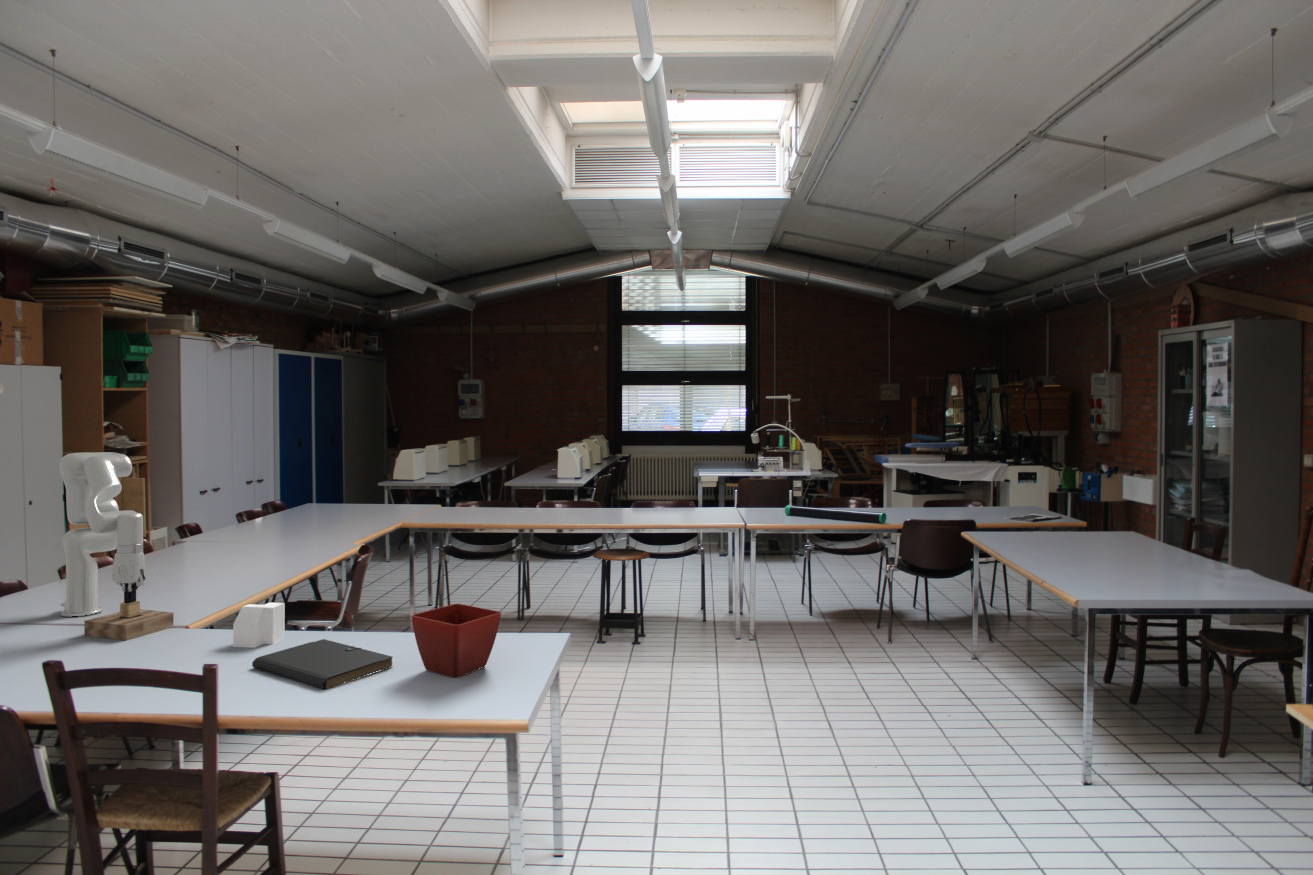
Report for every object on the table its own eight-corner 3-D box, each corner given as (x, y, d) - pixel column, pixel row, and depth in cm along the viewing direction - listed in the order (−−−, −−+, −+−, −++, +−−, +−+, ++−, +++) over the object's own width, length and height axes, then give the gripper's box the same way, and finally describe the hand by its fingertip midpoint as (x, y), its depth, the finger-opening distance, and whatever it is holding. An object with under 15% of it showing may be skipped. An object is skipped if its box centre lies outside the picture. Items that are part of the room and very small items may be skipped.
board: (84, 635, 262) (84, 620, 262) (133, 622, 279) (133, 608, 279) (126, 640, 257) (126, 625, 257) (173, 626, 274) (173, 612, 274)
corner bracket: (284, 638, 262) (284, 602, 262) (264, 648, 251) (264, 611, 251) (254, 637, 263) (254, 601, 263) (233, 646, 252) (233, 609, 252)
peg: (119, 631, 267) (119, 602, 266) (130, 628, 271) (130, 600, 270) (128, 633, 265) (128, 603, 265) (139, 630, 269) (139, 601, 269)
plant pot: (502, 666, 237) (502, 611, 236) (456, 684, 220) (457, 624, 220) (456, 655, 246) (456, 602, 246) (409, 672, 230) (409, 615, 230)
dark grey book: (393, 655, 234) (322, 678, 214) (393, 668, 234) (322, 693, 214) (324, 637, 251) (252, 657, 231) (324, 650, 251) (252, 671, 231)
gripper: (102, 549, 266) (102, 603, 266) (137, 551, 262) (137, 606, 262) (123, 546, 273) (123, 598, 273) (157, 548, 269) (157, 601, 269)
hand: (130, 602), depth 268 cm, fingers closed
